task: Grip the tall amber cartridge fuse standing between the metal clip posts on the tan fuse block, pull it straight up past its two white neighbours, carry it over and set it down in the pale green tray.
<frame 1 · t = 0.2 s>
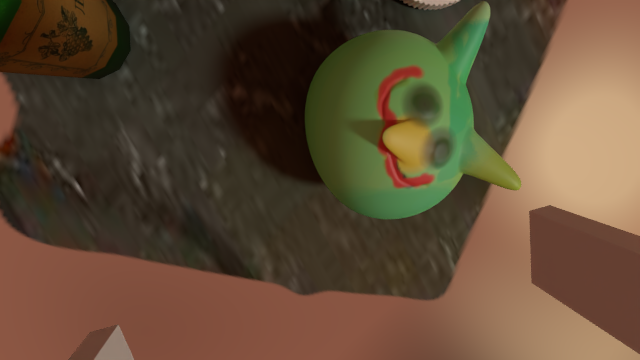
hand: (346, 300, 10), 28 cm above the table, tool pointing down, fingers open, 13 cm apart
bottle: (87, 35, 31), on the table
toy bird: (368, 124, 37), on the table
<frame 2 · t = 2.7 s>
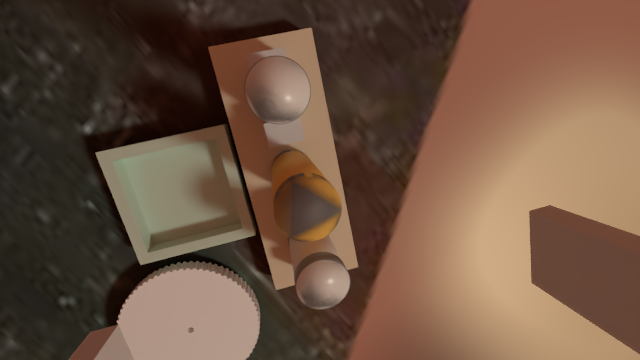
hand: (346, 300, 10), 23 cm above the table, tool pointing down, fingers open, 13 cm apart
tray: (187, 190, 31), on the table
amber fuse: (292, 170, 29), point 2 cm above the table, touching fuse block
plastic lid: (196, 313, 34), on the table
fuse block: (290, 165, 32), on the table
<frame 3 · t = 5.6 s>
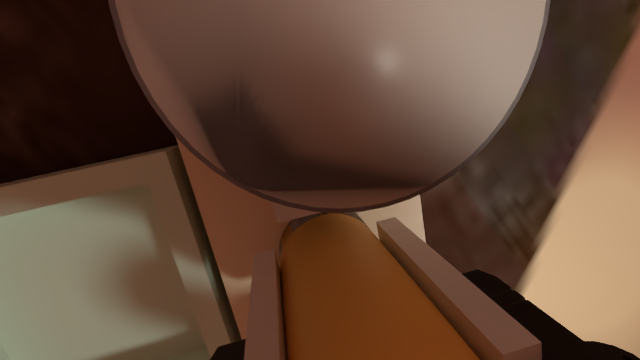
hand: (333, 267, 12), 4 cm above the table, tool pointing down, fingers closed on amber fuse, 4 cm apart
tray: (101, 283, 14), on the table
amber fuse: (325, 248, 13), point 3 cm above the table, touching fuse block, gripper
fuse block: (317, 227, 16), on the table
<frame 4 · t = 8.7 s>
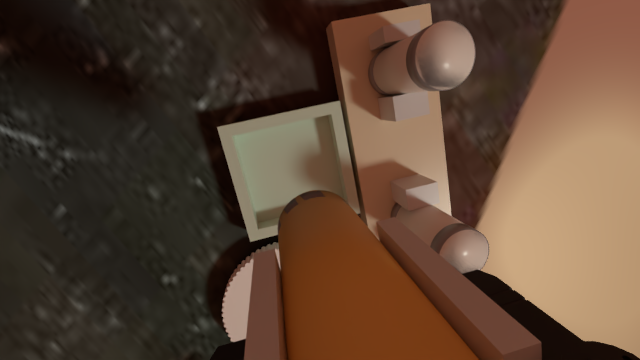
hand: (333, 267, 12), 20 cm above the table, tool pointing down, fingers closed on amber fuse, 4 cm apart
tray: (291, 168, 31), on the table
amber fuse: (317, 228, 16), point 16 cm above the table, touching gripper
plastic lid: (290, 293, 34), on the table
fuse block: (390, 144, 32), on the table
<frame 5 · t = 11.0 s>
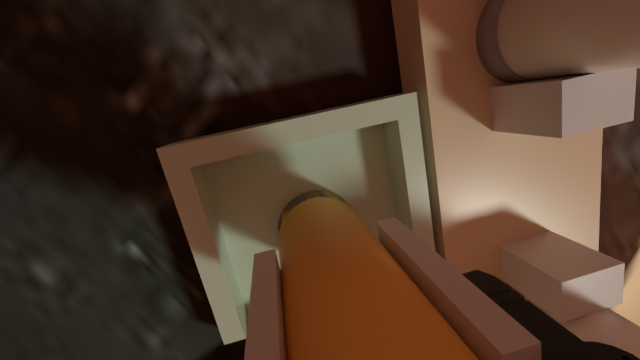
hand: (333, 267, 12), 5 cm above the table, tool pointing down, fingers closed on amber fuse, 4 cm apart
tray: (311, 219, 16), on the table
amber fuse: (317, 228, 16), point 1 cm above the table, touching gripper
fuse block: (488, 173, 18), on the table
when the fingers open (4 cm above the table, at t = 12.1 s): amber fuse stays where it is, resting on tray.
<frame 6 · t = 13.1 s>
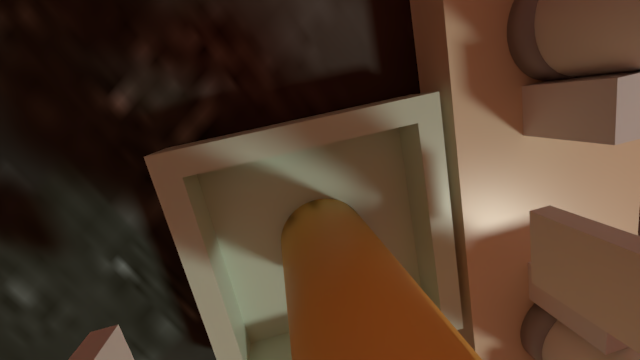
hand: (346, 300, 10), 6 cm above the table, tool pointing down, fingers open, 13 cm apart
tray: (319, 232, 15), on the table
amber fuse: (323, 239, 14), point 1 cm above the table, touching tray
fuse block: (512, 181, 16), on the table
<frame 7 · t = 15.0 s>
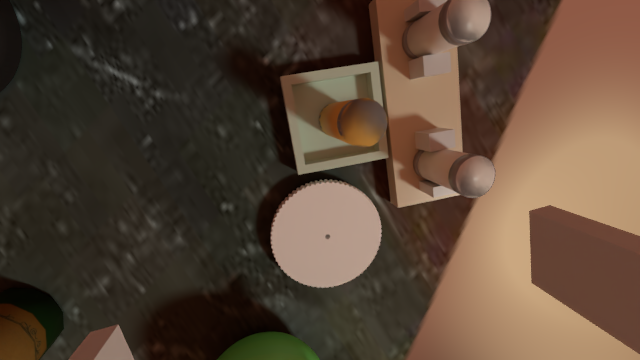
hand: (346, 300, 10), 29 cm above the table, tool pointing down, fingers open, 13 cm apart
tray: (333, 118, 37), on the table
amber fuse: (335, 119, 37), point 1 cm above the table, touching tray
plastic lid: (324, 228, 41), on the table
bottle: (28, 316, 37), on the table
fuse block: (414, 104, 38), on the table
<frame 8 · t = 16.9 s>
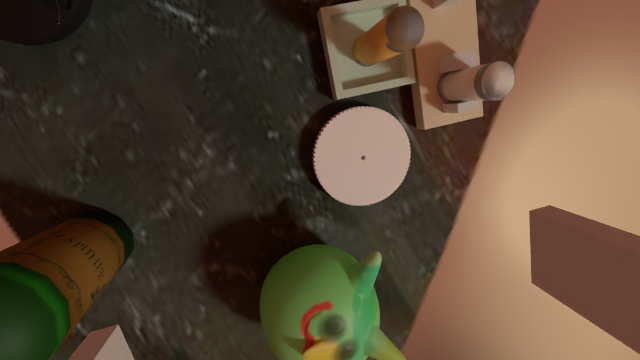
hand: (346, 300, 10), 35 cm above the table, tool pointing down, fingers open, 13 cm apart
tray: (364, 50, 42), on the table
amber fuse: (366, 50, 41), point 1 cm above the table, touching tray
plastic lid: (358, 155, 45), on the table
bottle: (102, 238, 42), on the table
fuse block: (436, 36, 43), on the table
toy bird: (316, 280, 49), on the table
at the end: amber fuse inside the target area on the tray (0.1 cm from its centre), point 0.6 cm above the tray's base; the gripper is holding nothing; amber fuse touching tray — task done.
